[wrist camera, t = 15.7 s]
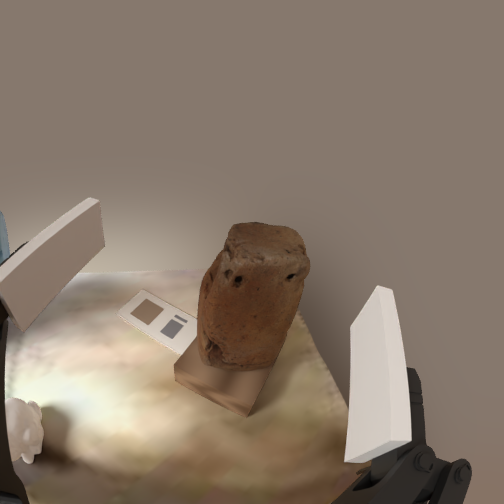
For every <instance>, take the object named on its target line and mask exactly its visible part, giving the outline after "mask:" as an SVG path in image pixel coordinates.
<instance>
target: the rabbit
mask: <svg viewBox="0 0 504 504" xmlns="http://www.w3.org/2000/svg"><path fill="white" fill-rule="evenodd" d="M5 412H6V424H7V433H8V441H9V448H10V454H11V459H12V461H15V460H17V459H19V458H20V457H23V459H24V461H25V462H26V463H29V464H31V463H33V461H34V454H40V453H41V450H42V441H43V437H44V430H43V428H42V425H41V420H42V412H41V409H40V407H39V406H38V404H37V403H35V402H34V401H29V402H28V404H27V403H26V402H24V401H23V400H21V399H18V398H13V397H12V398H8V399H6V400H5Z"/></svg>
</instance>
